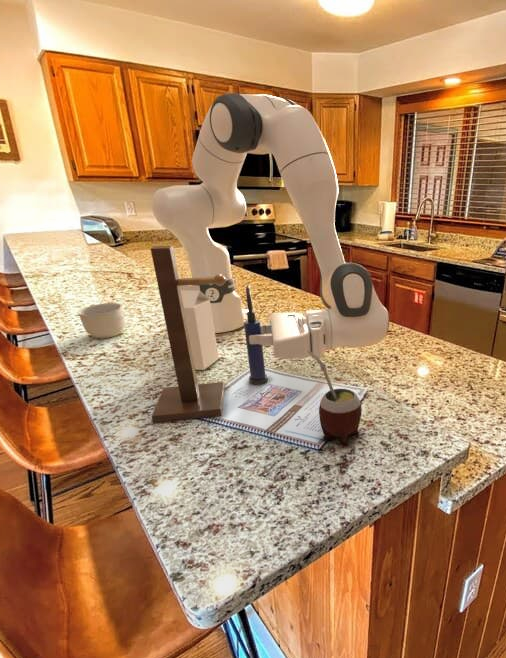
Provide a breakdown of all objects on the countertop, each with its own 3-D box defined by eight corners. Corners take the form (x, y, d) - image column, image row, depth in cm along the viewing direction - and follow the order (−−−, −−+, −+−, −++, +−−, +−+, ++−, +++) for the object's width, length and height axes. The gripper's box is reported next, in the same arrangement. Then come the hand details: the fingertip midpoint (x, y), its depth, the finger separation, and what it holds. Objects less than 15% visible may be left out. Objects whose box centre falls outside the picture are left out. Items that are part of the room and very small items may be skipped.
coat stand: (165, 394, 88) (132, 243, 75) (242, 386, 91) (222, 240, 79) (153, 423, 77) (112, 254, 65) (240, 413, 80) (218, 249, 68)
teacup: (130, 336, 121) (124, 308, 118) (87, 344, 115) (78, 315, 112) (123, 324, 131) (117, 298, 128) (83, 330, 126) (75, 304, 122)
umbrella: (249, 375, 96) (238, 284, 87) (267, 374, 97) (257, 283, 88) (249, 387, 90) (237, 291, 82) (268, 385, 91) (258, 290, 82)
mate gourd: (366, 444, 71) (367, 361, 64) (320, 452, 69) (316, 367, 62) (354, 422, 77) (353, 344, 71) (311, 428, 75) (306, 349, 69)
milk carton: (204, 371, 98) (190, 289, 91) (176, 368, 100) (160, 288, 92) (219, 359, 105) (207, 282, 97) (193, 357, 106) (179, 281, 98)
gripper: (308, 303, 100) (247, 307, 97) (321, 331, 81) (246, 337, 79) (309, 329, 102) (250, 334, 99) (322, 361, 84) (250, 368, 81)
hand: (249, 335), depth 89 cm, fingers closed on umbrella, 3 cm apart
